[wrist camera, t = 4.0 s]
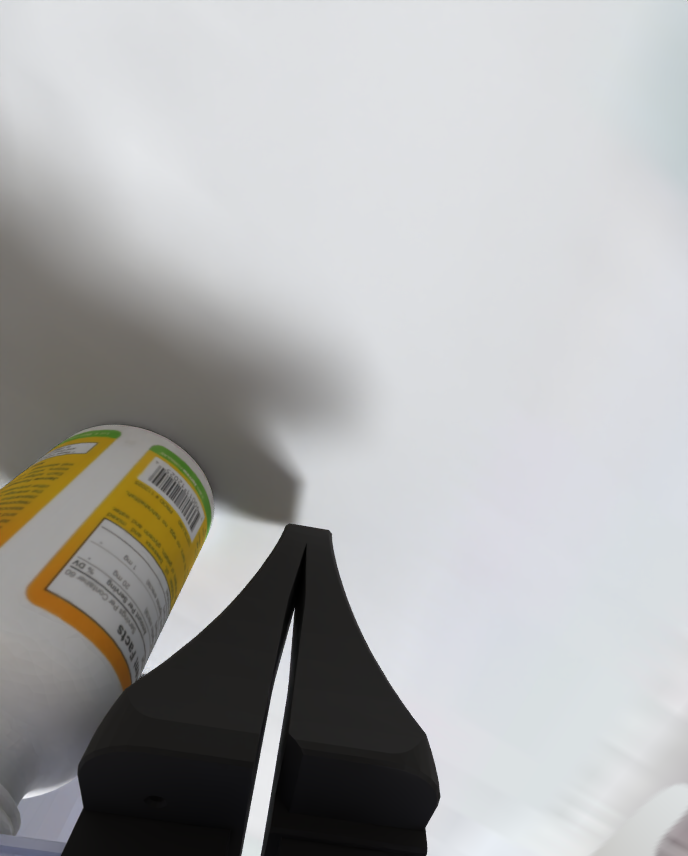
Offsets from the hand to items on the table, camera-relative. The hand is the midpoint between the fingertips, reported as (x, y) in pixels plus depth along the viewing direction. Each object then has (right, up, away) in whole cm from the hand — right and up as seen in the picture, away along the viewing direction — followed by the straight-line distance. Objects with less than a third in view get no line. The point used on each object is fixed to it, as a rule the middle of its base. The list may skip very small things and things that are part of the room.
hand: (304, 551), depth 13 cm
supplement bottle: (-6, +2, +1) cm, 6 cm away
